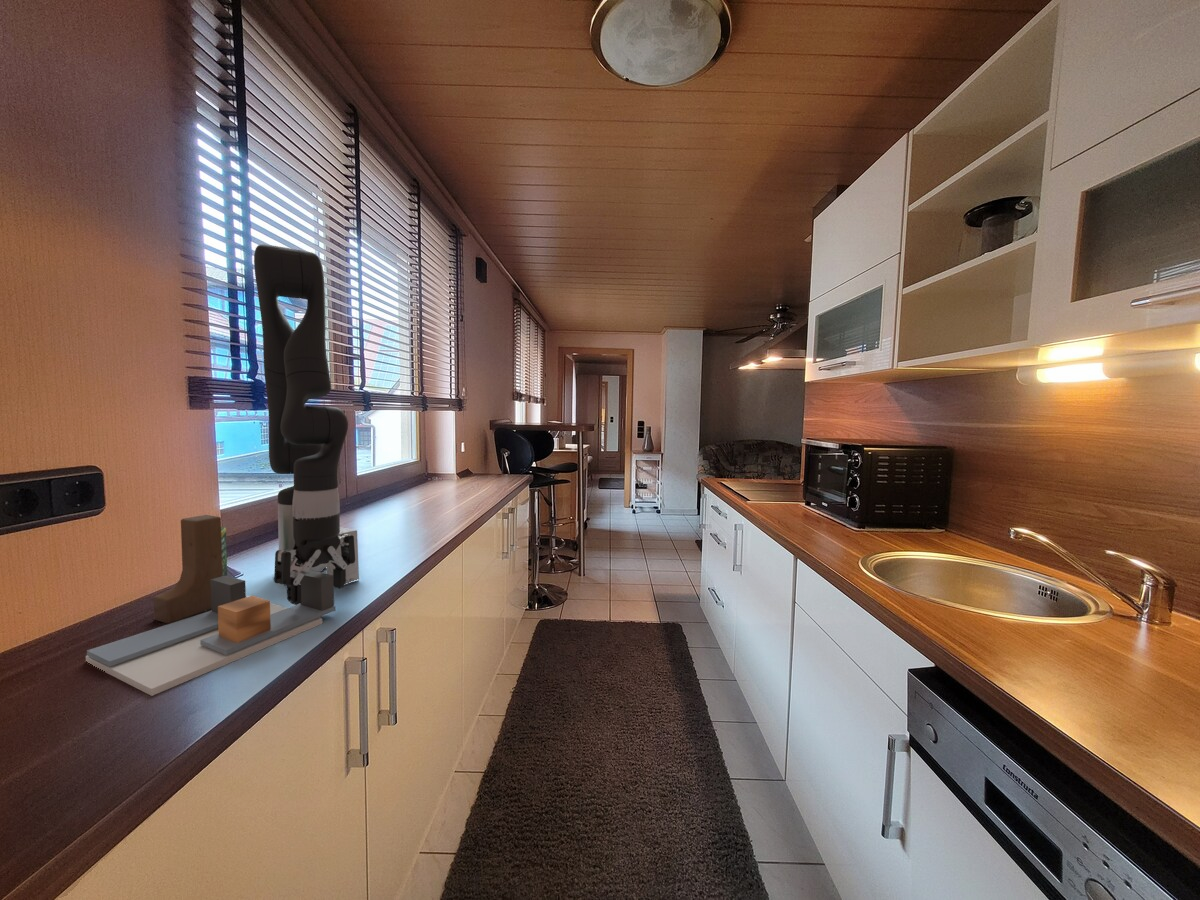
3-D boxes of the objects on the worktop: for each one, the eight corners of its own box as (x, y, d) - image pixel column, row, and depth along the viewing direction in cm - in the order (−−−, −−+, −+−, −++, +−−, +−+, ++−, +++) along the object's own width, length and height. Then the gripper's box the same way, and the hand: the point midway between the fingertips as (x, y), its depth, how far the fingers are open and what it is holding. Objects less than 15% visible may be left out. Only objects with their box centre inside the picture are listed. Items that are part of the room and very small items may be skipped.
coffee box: (218, 596, 93) (216, 534, 92) (200, 599, 92) (198, 536, 91) (228, 583, 100) (227, 526, 99) (212, 585, 99) (210, 527, 98)
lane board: (258, 604, 90) (258, 599, 90) (322, 623, 83) (322, 618, 82) (86, 662, 68) (85, 656, 68) (151, 696, 60) (151, 688, 60)
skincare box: (360, 580, 104) (359, 529, 103) (341, 586, 100) (341, 533, 99) (343, 575, 107) (342, 526, 106) (324, 581, 103) (323, 529, 102)
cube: (252, 623, 78) (251, 595, 77) (270, 629, 76) (270, 600, 75) (218, 636, 73) (217, 606, 73) (237, 642, 71) (236, 612, 71)
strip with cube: (311, 603, 88) (310, 569, 88) (335, 610, 85) (335, 575, 85) (200, 644, 72) (199, 603, 71) (226, 655, 69) (225, 612, 68)
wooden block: (167, 624, 80) (164, 526, 79) (152, 620, 82) (149, 523, 81) (224, 605, 89) (221, 516, 88) (209, 601, 90) (207, 514, 89)
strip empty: (225, 610, 84) (224, 574, 84) (247, 617, 81) (247, 581, 81) (87, 655, 68) (84, 611, 67) (109, 666, 65) (107, 621, 64)
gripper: (337, 503, 92) (338, 579, 94) (263, 517, 79) (265, 605, 81) (363, 507, 90) (364, 586, 91) (291, 522, 76) (292, 613, 78)
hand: (318, 595), depth 86 cm, fingers open, 8 cm apart
